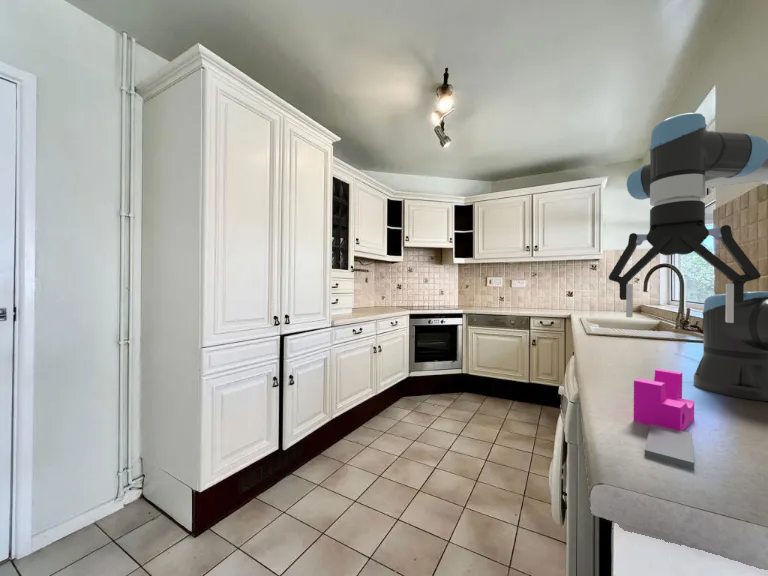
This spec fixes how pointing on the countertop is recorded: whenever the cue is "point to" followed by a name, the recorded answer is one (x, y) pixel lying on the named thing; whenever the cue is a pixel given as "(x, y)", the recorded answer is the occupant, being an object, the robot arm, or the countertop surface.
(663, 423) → the toy block
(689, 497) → the countertop surface
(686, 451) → the baseplate
